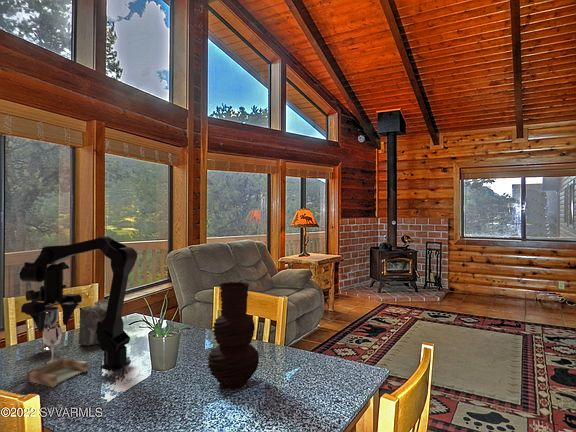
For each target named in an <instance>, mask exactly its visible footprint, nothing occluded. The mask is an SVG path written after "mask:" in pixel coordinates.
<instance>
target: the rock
mask: <svg viewBox="0 0 576 432" xmlns="http://www.w3.org/2000/svg"><path fill="white" fill-rule="evenodd" d="M108 300H109V299H98V300H97V301H95V302H94V305H93V306H90V305H86V306H83V307H82V308H81V309H80V312H79V333H78V340H77V343H78V344H79V345H81V346H82V345H83V346H89V345H90V346H93V345H95V346H96V345H99V344H100V343H99V341H98V340H97V338H96V335H97V334H95V332H96V330H97V323H98V321H100V320H102V319H104V318H105V316H106V311H107V306H108Z"/></svg>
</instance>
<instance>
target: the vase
mask: <svg viewBox="0 0 576 432" xmlns="http://www.w3.org/2000/svg"><path fill="white" fill-rule="evenodd" d="M218 286H219V287H220V288H219V289H220V291H219V295H220V302H221V303H220V309H221V311H220V313H221V315H219V316H218V318H216V319H214V321H215V322H214V323H213V326H212V329H213V330H212V333H213V334H212V335H213V337H214V340H215V343H216V344H218V345H216V346H215V347H214V348H211V349H210V352H209V353H208V357H207V360H208V361H207V364H208V365H207V367H208V368H209V371H210V372H211V373H210V374H211V375H212V376H213V377H214V379H216V382H218V383H219V386H220V387H221V388H222V389H224V390H231V391H234V390H238V389H242V388H244V387H245V386H247V384H248V381H249V380H250V379H251V378H252V377H253V375H254V374H255V372H256V371H257V369H258V366H259V363H260V359H259V358H260V355H259V351H258V350H257V349H256V348H255V346H253V345H252V344H250V343H252V339H253V338H254V332H255V329H256V326H255V323H254V319H253V318H252V317H251V316H250V315H248V313H247V311H248V297H249V293H248V291H249V287H250V285H249V282H242V281H230V282H222V283H220V284H218Z"/></svg>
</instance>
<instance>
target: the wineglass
mask: <svg viewBox="0 0 576 432" xmlns="http://www.w3.org/2000/svg"><path fill="white" fill-rule="evenodd" d="M62 340H63V329H62V326H61V325H58V324H57V325H56V324H55V325H52V326H47V327H45V329H44V332H42V343H43V344H45V345H47V346H52V347H51V351H50V353H51V358H50V360H47V361H48V362H47V361H46V362H47V363H52V362H54V361H57V360H58V359H55V358H54V352H55V350H54V347H53V346H57V345H59V344H60V343H61V342H62Z"/></svg>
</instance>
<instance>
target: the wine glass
mask: <svg viewBox="0 0 576 432" xmlns="http://www.w3.org/2000/svg"><path fill="white" fill-rule="evenodd" d="M43 312H46V316H45V322H44V328H43V331H42V332H41V333H43V332H44V329H45V327H47V326H52V325H56V324H57V322H58V317H59V312H60V311H59V306H56V305H55V306H50V307H46V308H45V310H44V311H43ZM34 324H35V323H34ZM35 326H36V324H35ZM43 344H44V343H43ZM51 347H52V346H47V345H45V344H44V345H43V346H40V348H39V347H37V348H38V349H37V348H36V349H37V350H40V351H46V350H50V349H51ZM53 347H54V346H53Z"/></svg>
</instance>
